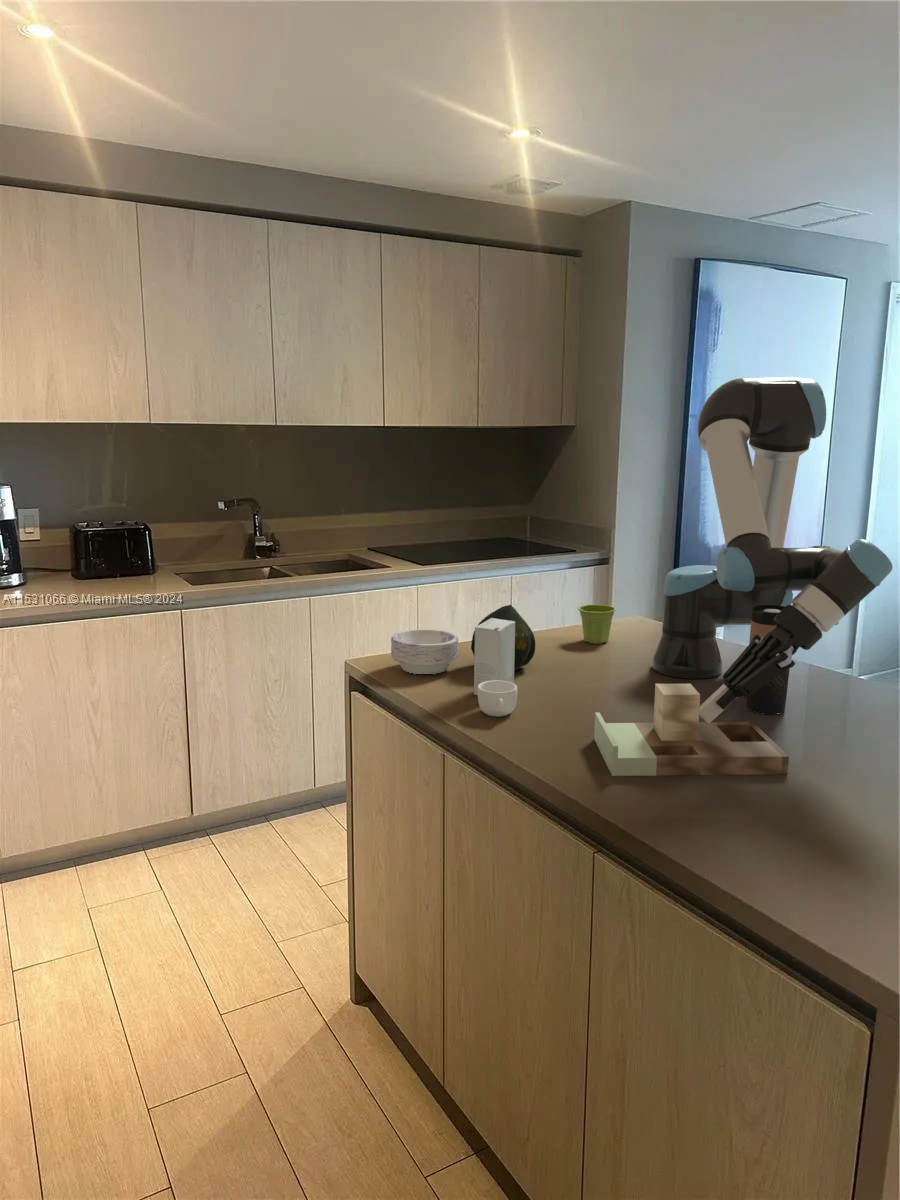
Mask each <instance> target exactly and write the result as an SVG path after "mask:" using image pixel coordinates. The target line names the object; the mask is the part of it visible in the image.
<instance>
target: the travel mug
mask: <svg viewBox="0 0 900 1200" xmlns="http://www.w3.org/2000/svg"><path fill="white" fill-rule="evenodd" d="M783 608H785V606H778V605H757V606H754V607H753V608H752V616H751V625H750V632H749V644H750V642H751V640H752V639H753V637H754V636H755V635H759V636H760V637H761V638H762V637H765V636H766V635H767V634H768V633H769V632H770V631H772V630H773V629H775V628H776V627H777V625H776V624H775V622H774V617H775V616H776V615H777V614H778V613H779V612H780V611H781V610H782V609H783ZM749 644H748V645H749ZM790 669H791V668H789V669H787V670H785V671H783V672H782V673H781V674H779V675H778V676H777V677H775V678H774V679H773V680H771V681H770V682H769V683H767V684H766V685H764V686H763V687H762V688H760V689H759V690H758V691H756V692H755V693H754V694H752V695H751V696H750V697H748V698H745V699H746V701H745V702H746V704H745V705H746V708H748V709H747V710H749V709H750V710H752V711H751V712H753V711H755V712H754V713H756V712H758V713H757V714H760V713H764V714H763V715H769V714H774V715H778V714H777V713H781V714H783V713H784V712H785V711H786V704H787V696H788V695H787V694H788V685H789V679H790V678H789V677H790ZM750 710H749V711H750ZM782 712H783V713H782Z"/></svg>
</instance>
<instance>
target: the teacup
mask: <svg viewBox="0 0 900 1200" xmlns="http://www.w3.org/2000/svg"><path fill="white" fill-rule="evenodd" d="M477 693H478V695H477V701H478V706H479V709H480V710H481V711H482V712H483V713H484V714H486V715H487V716H490V717H494V716H495V717H496V718H497V717H498V718H500V717H505V716H508V715H509V714H511V713H512V712H513V711H514V709H515V708H516V705H517V700H518V686H517V684H515V682H514V683H511V682H508V681H501V680H492V681H485V682H482V683H480V684H479V685H478V687H477Z"/></svg>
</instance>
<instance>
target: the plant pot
mask: <svg viewBox="0 0 900 1200" xmlns="http://www.w3.org/2000/svg"><path fill="white" fill-rule="evenodd" d="M577 610H578V611H579V614H580V618H581V624H582V633H583V640H584V642H585V643H586V642H587V643H589V644H595V645H600V644H603V643H608V642H609V639H610V633H611V628H612V627H611V626H612V621H613V616H614V614H615V612H616V607H614V606H612V605H605V604H586V605H585V604H584V605H581V606H578V609H577Z"/></svg>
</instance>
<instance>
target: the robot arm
mask: <svg viewBox="0 0 900 1200" xmlns="http://www.w3.org/2000/svg"><path fill="white" fill-rule="evenodd" d="M826 422H827V404H826V398H825V395H824V390H823V388H822V387H821V385H820V384H819V382H817V381H816V380H814V379H812V378H804V377H802V378H801V377H795V376H791V377H789V376H788V377H757V378H756V377H755V378H754V377H753V378H750V377H740V378H735V379H732V380H729V381H728V382H725V383H724V384H721V385H720V386H719V387H717V389H715V390H714V391H713V392H712V393H711V394H710V396H708V398H707V400H706V401H705V403H704V404H703V407H702V409H701V411H700V413H699V417H698V421H697V436H698V440H699V445H700V447H701V449H703V451H705V452H706V453H707V458H708V464H709V468H710V469H709V470H710V474H711V479H712V483H713V489H714V493H715V497H716V498H715V499H716V503H717V508H718V512H719V513H718V514H719V518H720V524H721V527H722V533H723V537H724V543H725V548H722V549H721V550H720V551H719V553H718V555H717V558H716V565H712V564H707V565H706V564H705V565H703V564H696V565H694V564H693V565H686V566H681V567H677V568H674V569H672V570H670V571H668V572H667V574H666V576H665V579H664V587H663V592H662V595H663V606H662V607H663V610H662V625H661V628H662V629H661V630H662V632H661V636H660V639H659V642H658V644H657V648H656V650H655V653H654V655H653V658H652V669H653V670H654V671H655V672H658V673H659V674H662V675H664V676H667V677H668V676H670V677H674V678H681V679H690V680H691V679H692V680H693V679H697V680H698V679H699V680H701V679H710V678H714V677H718V676H719V675H721V674H722V678H723V682H722V685H721V686H720V687H719V688H717V689H716V691H714V692H713V693H712V694H711V695H710V696H709V697H708V698H707V699H705V701H703V703H702V704H700V706H699V717H701V718H702V719H703V720H704V722H707V723H708V724H709V723H710V722H714V720H715V719H716V718H717V717H718V716H719V715H720V714H721V713H723V711H725V710H726V708H728V707H729V706H730V705H731V704H732V703H734V701H735V700H736V699H737V698H742V697H744V699H746V698H748V697H750V696H751V695H752V694H754V693H755V692H756V691H758V690H759V689H760V688H762V687H763V686H764V685H766V684H767V683H769V682H770V681H771V680H773V679H774V678H775V677H777V676H778V675H779V674H781V673H782V672H783V671H785V670H787V669H791V668H793V667H794V666H795V665H796V662H795V661H794V659H792V657H793V656H794V655H795V654H796V653H797V652H798V650H799V649H800V648H801V649H802V650H805V651H806V650H807V651H809V650H810V649H812V648H813V646H815V645H816V644H817V643H818V642H819V641H820V640H821V639H822V638H823V633H828V632H829V631H830V630H832V628H833V627H835V626H837V625H839V624H840V621H841V620H842V619H843V618H844V617H845V616H846V615H847V614H849V612H851V611H852V609H853V610H854V608H855V607H856V606H857V605H858V604H859V603H860V602H862V601H863V600H864V599H865V598H866V597H867V596H869V594H871V593H872V592H873V591H874V590H875V589H876V588H877V587H879V586H880V585H881V583H882V582H883V581H884V580H885V579H886V578H887V576H889V574H890V573H891V572H892V571H893V569H894V567H893V563H892V561H891V560H890V558H889V557H888V556H887V555H886V554H885V553H884V552H883V550H881V549H880V548H879V547H878V546H877V545H875V544H873V542H871V541H868V540H867V539H863V538H858V539H856V540H855V541H853V542H852V543H851V544H849V545H848V546H846V547H845V549H844V550H839V549H835V548H834V547H830V546H828V545H812V546H809V547H784V545H785V539H786V533H787V529H788V528H787V527H788V521H789V517H790V511H791V505H792V499H793V494H794V488H795V483H796V482H795V481H796V477H797V470H798V466H799V460H800V457H801V455H803V454H805V453H806V452H807V451H809V449H810V444H811V439H816V438H819V437H820V436H821V435H823V432H824V430H825V428H826ZM749 446H750V447H749ZM750 448H751V449H752V450H753V451H754V457H753V461H752V457H751V453H750ZM795 591H796V592H797V591H798V592H799V591H800V592H799V593H798V594H797V595H796V596H794V593H793V592H795ZM757 605H778V606H785V608H783V609H782V610H781V611H780V612H779V613H778V614H777V615H776V616H775V617H774V622H775V624H776V625H777V627H776V628H775V629H773V630H772V631H770V632H769V633H768V634H767V635H766V636H765V637H762V638H761V637H760V636H759V635H755V636H754V637H753V639H752V640H751V642H750V644H748V645H747V646H746V647H745V649H744V650H743V651H742V653H740V655H739V656H738V657H737V658H736V659H735V661H734V662H733V663H732V664H731V665H730V667H728V669H726V671H725V672H724V673H722V672H723V660H722V657H721V652H720V649H719V646H718V642H717V626H720V625H721V626H723V625H724V626H725V625H726V626H729V625H730V626H737V625H738V626H751V616H752V608H753V607H754V606H757ZM822 632H823V633H822Z"/></svg>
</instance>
